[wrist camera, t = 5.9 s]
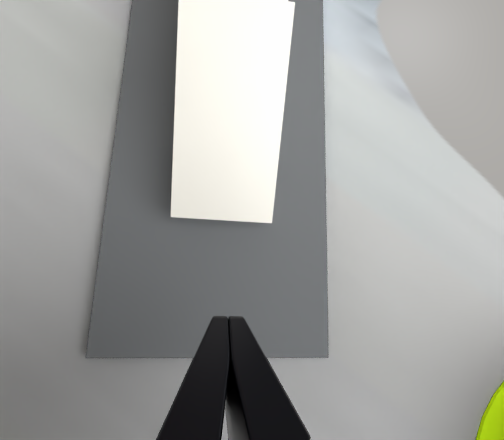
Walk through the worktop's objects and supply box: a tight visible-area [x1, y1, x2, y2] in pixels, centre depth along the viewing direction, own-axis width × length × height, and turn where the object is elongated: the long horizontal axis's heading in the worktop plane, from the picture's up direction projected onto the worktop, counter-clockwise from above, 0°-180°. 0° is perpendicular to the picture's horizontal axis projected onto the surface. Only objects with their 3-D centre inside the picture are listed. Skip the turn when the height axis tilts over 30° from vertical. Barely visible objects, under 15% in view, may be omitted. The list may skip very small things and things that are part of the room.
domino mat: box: [86, 0, 328, 358], centre depth 18 cm, size 28×12×1 cm, turn 178°
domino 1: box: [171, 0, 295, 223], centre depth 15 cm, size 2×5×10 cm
